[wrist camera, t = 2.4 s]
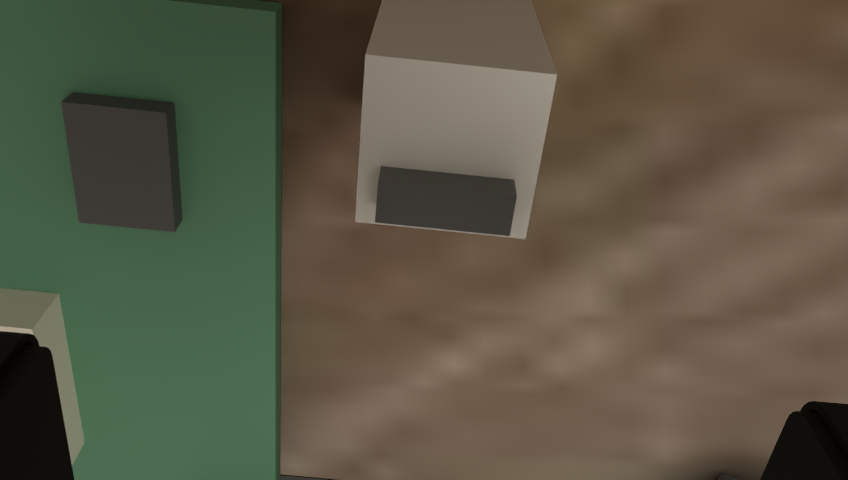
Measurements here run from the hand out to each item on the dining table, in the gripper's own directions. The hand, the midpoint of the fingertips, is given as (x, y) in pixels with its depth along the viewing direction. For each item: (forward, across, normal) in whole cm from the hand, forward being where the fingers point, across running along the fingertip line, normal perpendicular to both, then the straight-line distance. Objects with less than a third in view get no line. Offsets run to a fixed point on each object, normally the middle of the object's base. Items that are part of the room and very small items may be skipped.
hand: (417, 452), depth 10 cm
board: (+16, +12, +8) cm, 22 cm away
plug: (+16, -1, -1) cm, 16 cm away
